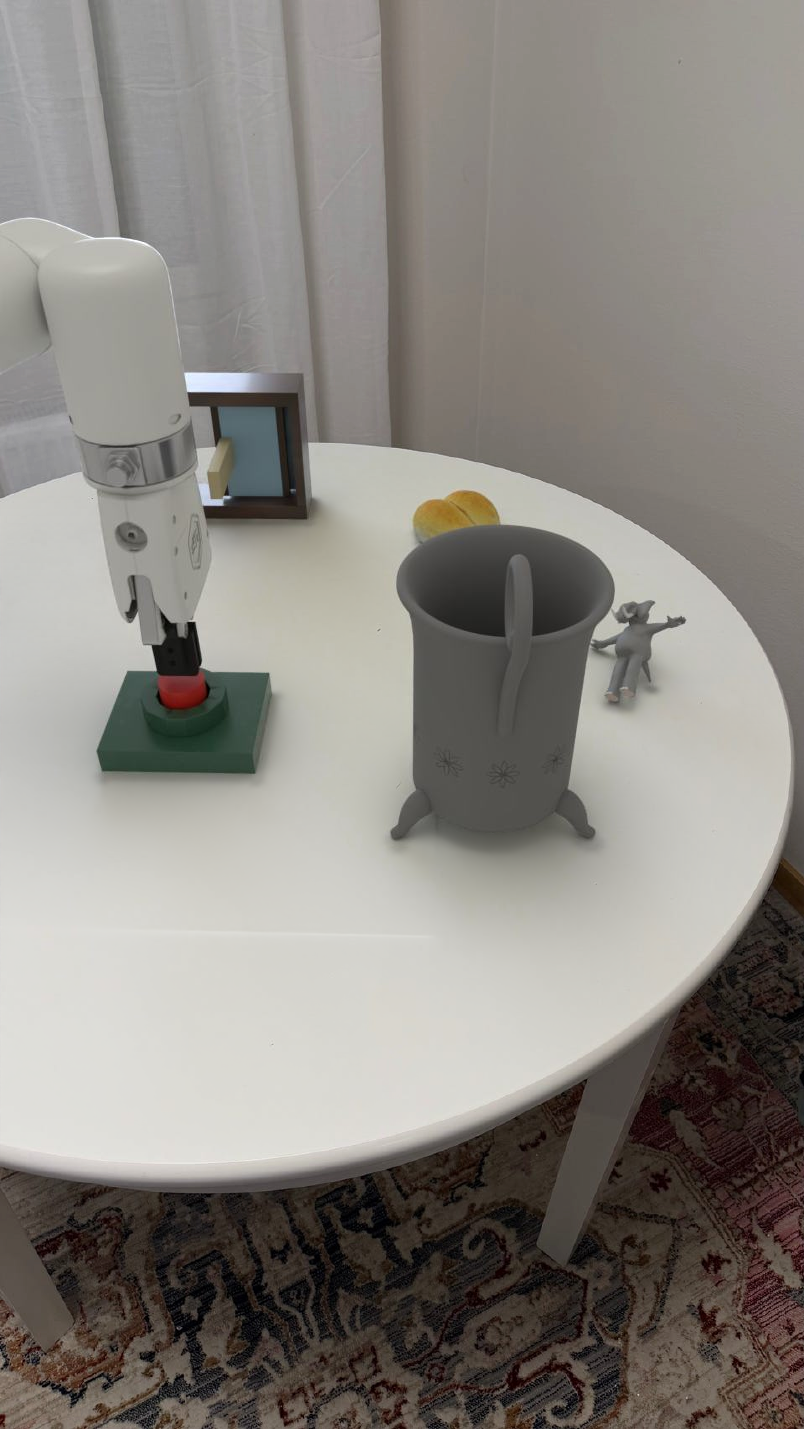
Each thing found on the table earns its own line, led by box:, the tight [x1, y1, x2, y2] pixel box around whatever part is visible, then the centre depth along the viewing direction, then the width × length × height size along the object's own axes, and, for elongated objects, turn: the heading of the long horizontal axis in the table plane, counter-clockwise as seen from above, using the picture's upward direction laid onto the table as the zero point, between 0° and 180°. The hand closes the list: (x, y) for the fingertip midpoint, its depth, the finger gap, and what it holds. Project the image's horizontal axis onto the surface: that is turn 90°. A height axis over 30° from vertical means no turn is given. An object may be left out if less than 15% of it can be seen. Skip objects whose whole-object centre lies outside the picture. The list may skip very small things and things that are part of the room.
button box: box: [95, 667, 273, 775], centre depth 80 cm, size 12×10×4 cm
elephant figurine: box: [590, 599, 687, 703], centre depth 85 cm, size 10×6×9 cm
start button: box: [158, 670, 207, 710], centre depth 79 cm, size 4×4×2 cm
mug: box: [389, 524, 616, 840], centre depth 67 cm, size 19×15×25 cm
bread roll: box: [412, 489, 502, 543], centre depth 104 cm, size 8×9×4 cm
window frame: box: [184, 372, 313, 520], centre depth 105 cm, size 18×5×14 cm, turn 88°
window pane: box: [206, 407, 291, 499], centre depth 102 cm, size 7×8×10 cm
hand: (180, 669), depth 78 cm, fingers closed
